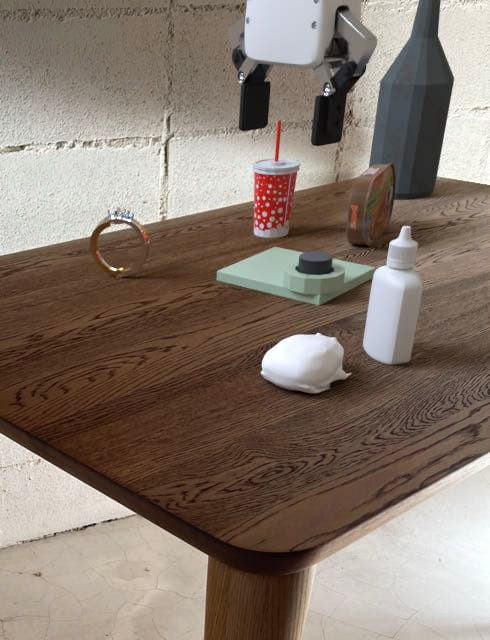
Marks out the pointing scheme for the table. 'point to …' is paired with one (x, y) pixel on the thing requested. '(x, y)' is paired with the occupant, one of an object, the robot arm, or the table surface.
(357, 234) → the tin
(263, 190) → the beverage cup
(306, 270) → the button
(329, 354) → the garlic
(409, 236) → the eye dropper bottle
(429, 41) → the bottle
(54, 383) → the table surface
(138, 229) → the ring
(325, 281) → the scale
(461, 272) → the table surface
